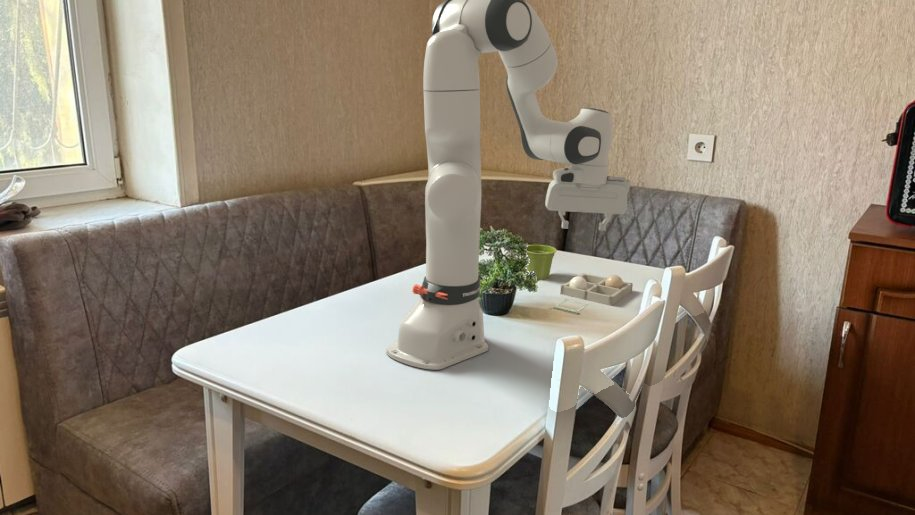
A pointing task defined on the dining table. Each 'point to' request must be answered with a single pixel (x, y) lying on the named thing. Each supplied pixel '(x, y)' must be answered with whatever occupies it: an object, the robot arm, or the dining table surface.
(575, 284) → the off-white ball
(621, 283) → the brown egg
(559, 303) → the glass coaster
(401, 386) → the dining table surface
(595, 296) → the egg tray
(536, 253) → the plant pot
